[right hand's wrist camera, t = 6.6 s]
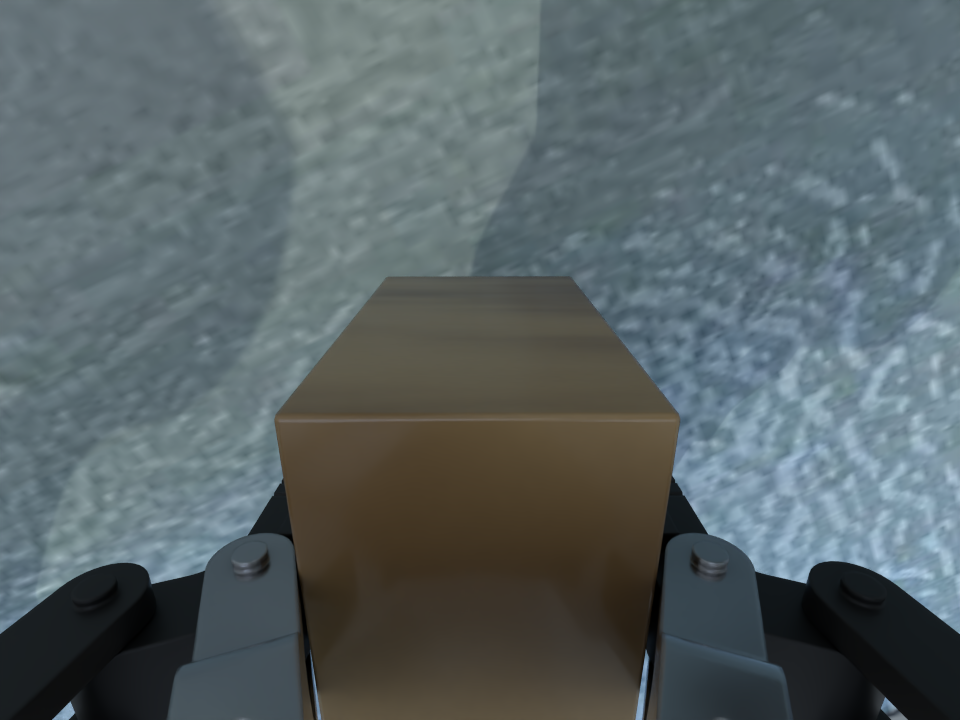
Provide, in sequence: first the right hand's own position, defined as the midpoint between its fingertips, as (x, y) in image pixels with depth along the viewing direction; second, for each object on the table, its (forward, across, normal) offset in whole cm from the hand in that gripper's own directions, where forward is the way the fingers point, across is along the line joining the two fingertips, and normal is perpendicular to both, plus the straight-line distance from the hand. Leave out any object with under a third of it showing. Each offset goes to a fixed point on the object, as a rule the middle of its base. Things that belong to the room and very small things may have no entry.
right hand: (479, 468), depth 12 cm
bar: (+4, 0, -10) cm, 11 cm away
